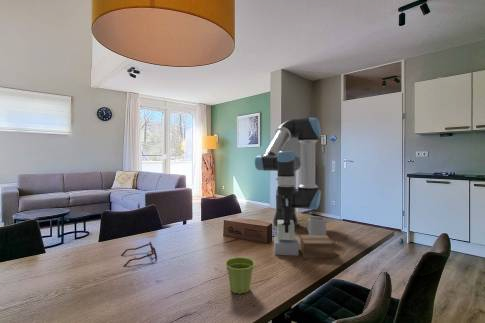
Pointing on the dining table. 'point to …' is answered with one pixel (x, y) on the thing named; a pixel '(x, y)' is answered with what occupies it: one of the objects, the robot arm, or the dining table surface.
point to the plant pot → (240, 274)
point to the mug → (316, 225)
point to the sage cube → (280, 229)
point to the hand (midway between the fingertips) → (285, 236)
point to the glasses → (143, 256)
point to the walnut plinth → (316, 246)
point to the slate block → (286, 246)
